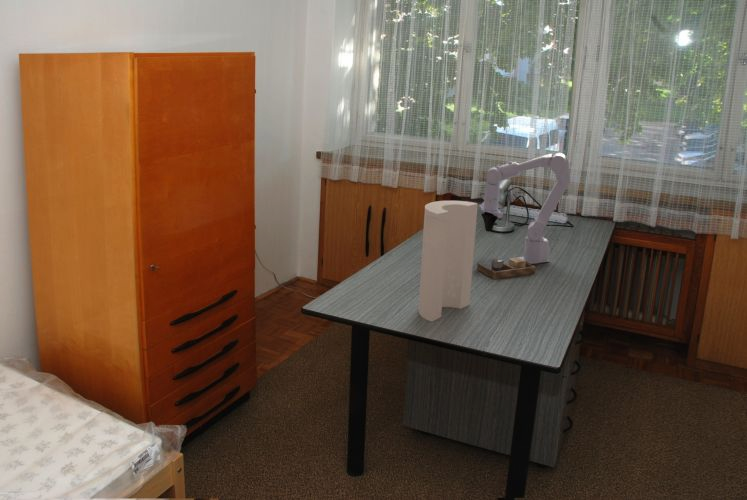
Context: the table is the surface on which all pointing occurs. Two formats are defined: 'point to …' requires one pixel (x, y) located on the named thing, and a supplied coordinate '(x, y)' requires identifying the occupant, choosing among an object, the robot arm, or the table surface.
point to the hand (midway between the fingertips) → (488, 230)
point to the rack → (506, 271)
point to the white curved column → (447, 256)
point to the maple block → (517, 263)
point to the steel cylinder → (497, 265)
